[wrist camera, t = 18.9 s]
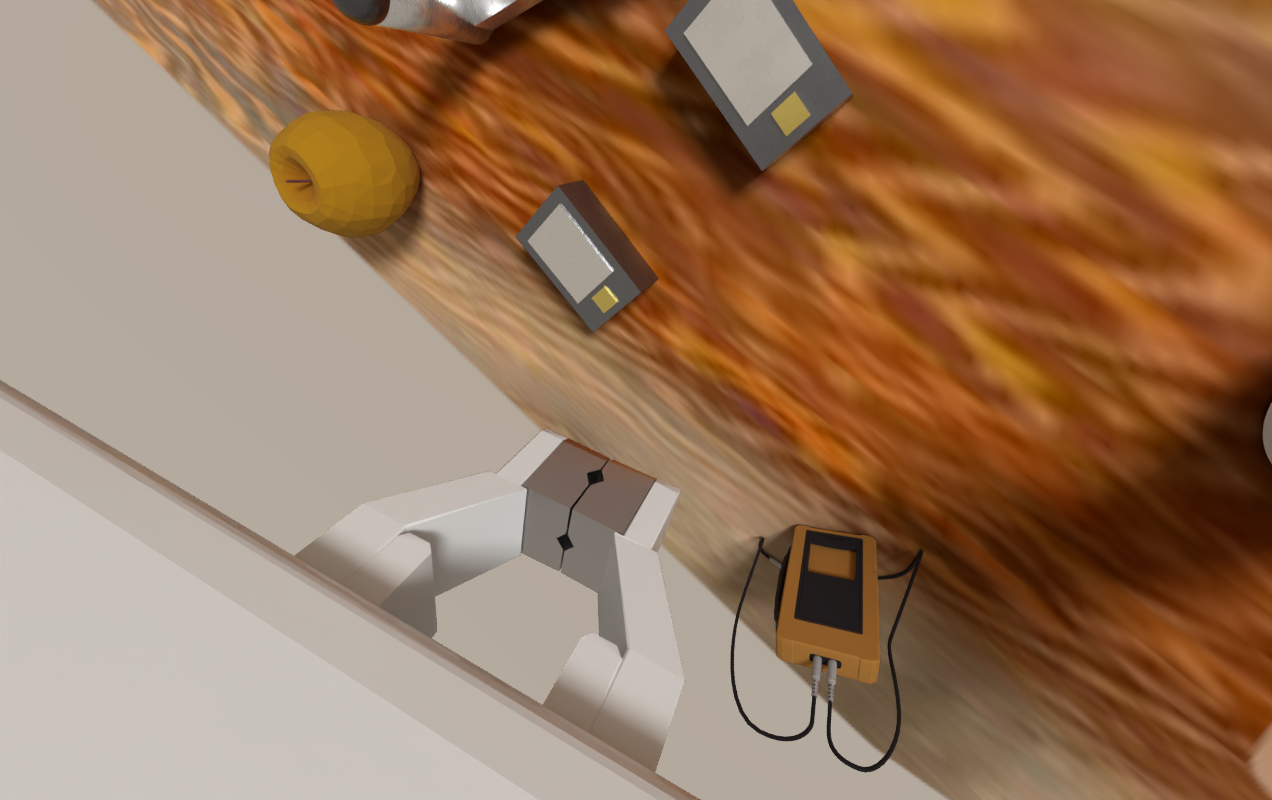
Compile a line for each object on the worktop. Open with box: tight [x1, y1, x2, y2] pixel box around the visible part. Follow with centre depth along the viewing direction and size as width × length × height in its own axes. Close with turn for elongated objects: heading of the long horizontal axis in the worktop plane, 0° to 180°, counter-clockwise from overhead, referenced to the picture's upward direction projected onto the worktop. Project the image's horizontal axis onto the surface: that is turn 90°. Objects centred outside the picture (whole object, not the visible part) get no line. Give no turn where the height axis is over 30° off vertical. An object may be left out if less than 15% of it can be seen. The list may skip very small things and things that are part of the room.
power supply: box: [516, 180, 658, 332], centre depth 40 cm, size 6×10×4 cm, turn 42°
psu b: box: [665, 0, 853, 171], centre depth 29 cm, size 6×10×4 cm, turn 42°
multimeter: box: [731, 525, 923, 772], centre depth 40 cm, size 15×10×20 cm
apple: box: [269, 110, 420, 237], centre depth 40 cm, size 10×10×12 cm
